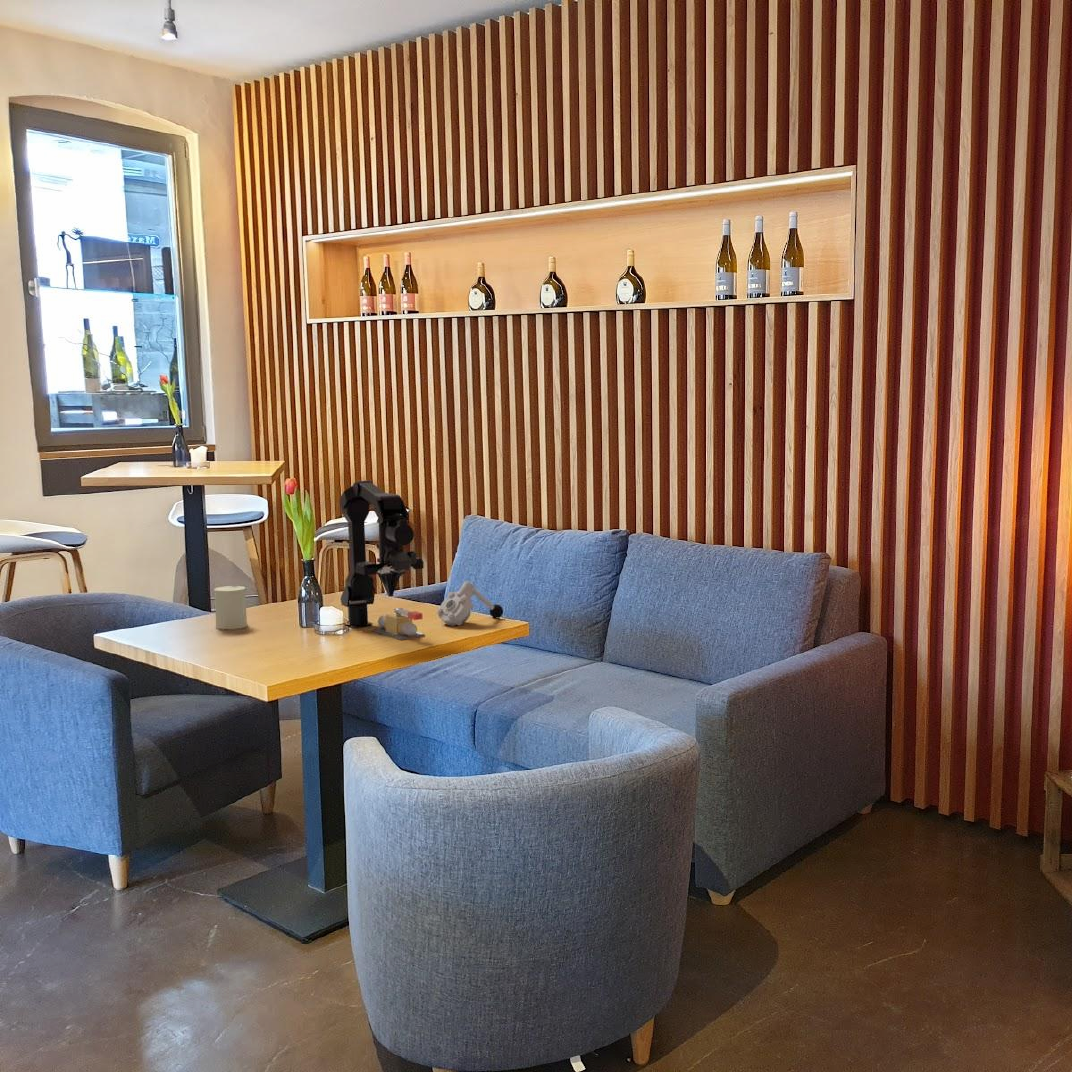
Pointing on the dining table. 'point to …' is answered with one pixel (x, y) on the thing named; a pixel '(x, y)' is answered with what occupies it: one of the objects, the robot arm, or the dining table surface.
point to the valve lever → (409, 613)
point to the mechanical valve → (463, 605)
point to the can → (230, 607)
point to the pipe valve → (397, 627)
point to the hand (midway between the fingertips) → (390, 596)
